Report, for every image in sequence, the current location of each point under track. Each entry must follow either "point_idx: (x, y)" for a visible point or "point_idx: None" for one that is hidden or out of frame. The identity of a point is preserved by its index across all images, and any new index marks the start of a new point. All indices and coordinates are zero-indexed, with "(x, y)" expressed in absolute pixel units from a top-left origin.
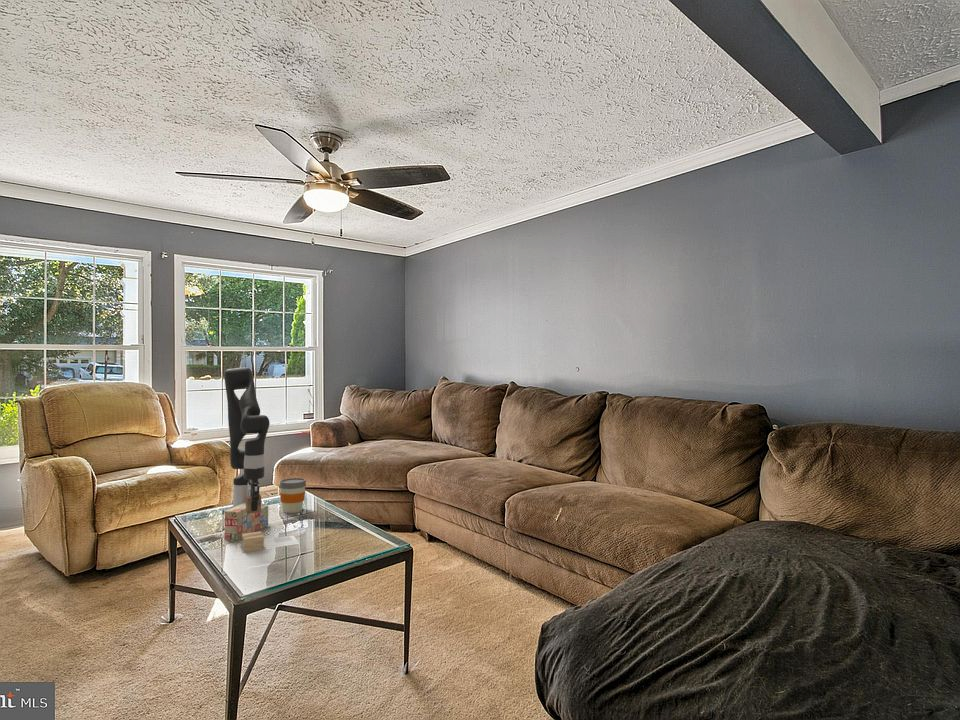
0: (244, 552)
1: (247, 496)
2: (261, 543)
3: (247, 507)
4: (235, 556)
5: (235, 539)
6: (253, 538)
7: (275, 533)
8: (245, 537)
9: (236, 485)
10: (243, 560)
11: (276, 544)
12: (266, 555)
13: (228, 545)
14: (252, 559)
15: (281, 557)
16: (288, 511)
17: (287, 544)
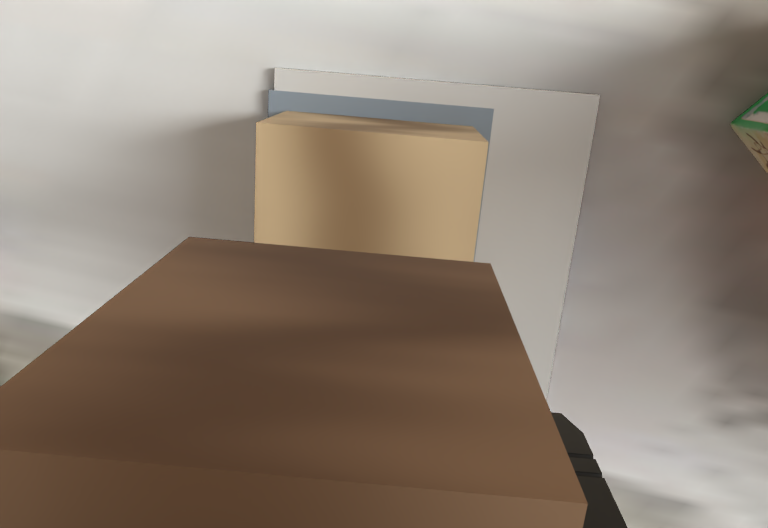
0: (276, 112)
1: (331, 516)
2: None
3: (123, 291)
4: (238, 17)
5: (758, 109)
6: (254, 225)
7: (704, 474)
8: (317, 148)
9: None
10: (85, 66)
11: None
12: (127, 272)
13: (639, 12)
14: (76, 144)
15: (21, 360)
16: None
17: None
